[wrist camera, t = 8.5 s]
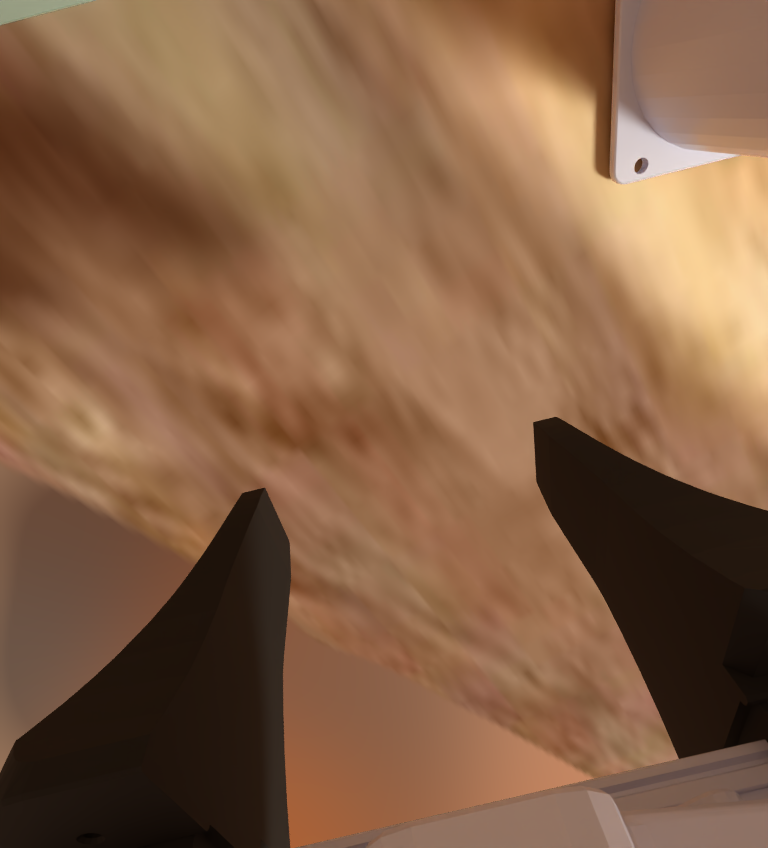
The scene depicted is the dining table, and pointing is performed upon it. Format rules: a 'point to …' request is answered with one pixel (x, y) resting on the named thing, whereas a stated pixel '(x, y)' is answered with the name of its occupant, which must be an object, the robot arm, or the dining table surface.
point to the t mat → (32, 8)
